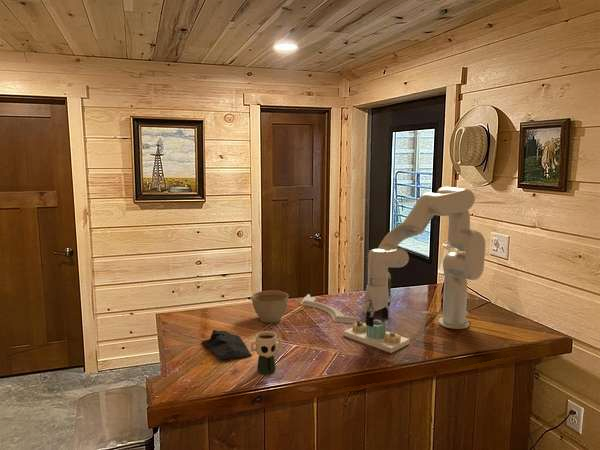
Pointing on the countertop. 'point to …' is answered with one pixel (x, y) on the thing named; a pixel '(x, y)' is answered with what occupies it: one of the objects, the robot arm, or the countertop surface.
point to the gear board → (388, 343)
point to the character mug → (266, 351)
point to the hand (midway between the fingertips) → (377, 322)
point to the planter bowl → (270, 305)
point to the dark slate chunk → (226, 345)
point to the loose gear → (377, 330)
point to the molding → (328, 310)
